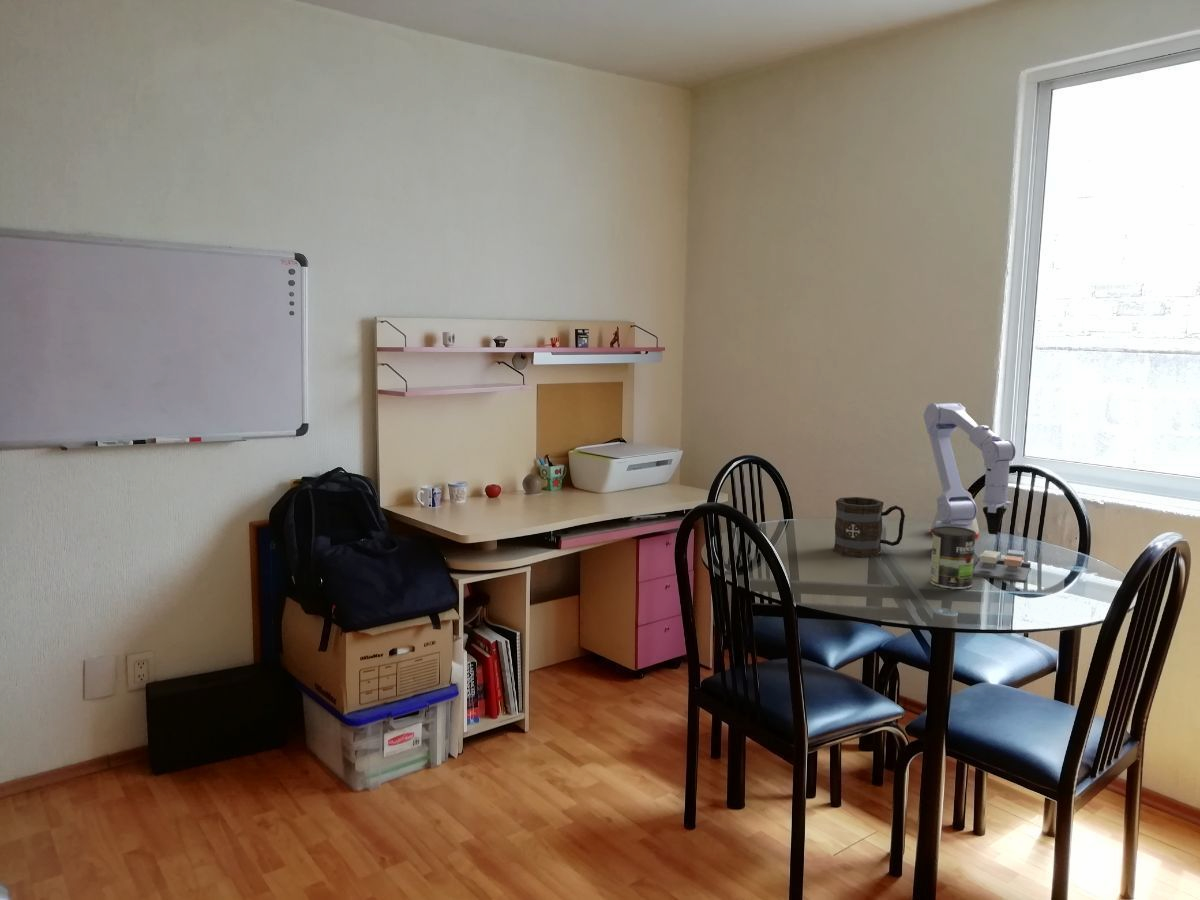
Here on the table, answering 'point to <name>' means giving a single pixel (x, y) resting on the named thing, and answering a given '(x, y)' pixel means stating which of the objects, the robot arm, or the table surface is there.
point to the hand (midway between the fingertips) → (993, 533)
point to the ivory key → (988, 559)
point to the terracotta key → (1012, 562)
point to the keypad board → (1002, 571)
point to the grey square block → (1016, 553)
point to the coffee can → (952, 557)
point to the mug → (861, 526)
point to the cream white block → (993, 553)
